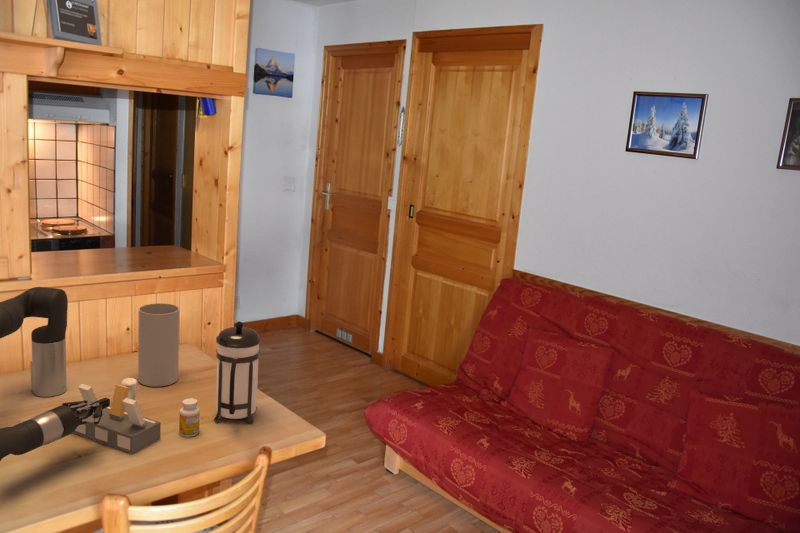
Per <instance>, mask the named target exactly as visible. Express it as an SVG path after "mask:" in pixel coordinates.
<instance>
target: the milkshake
mask: <svg viewBox="0 0 800 533" xmlns="http://www.w3.org/2000/svg"><path fill="white" fill-rule="evenodd" d="M138 382H139V378H137V379H135V378H134V377H126V378H124V379H122V380H121V383H120V385H123V386H126V387H129V392H128V397H127V398H129V399H132V400H135V401H137V392H138V390H137V389H138Z"/></svg>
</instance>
